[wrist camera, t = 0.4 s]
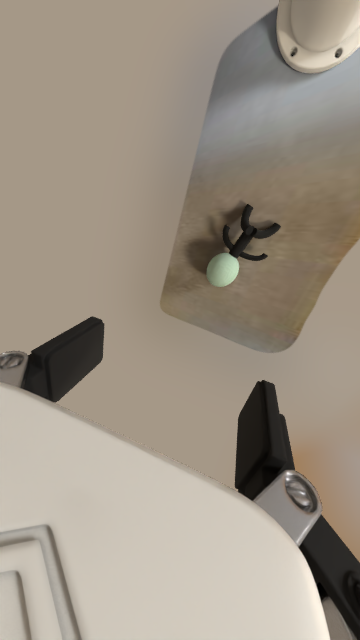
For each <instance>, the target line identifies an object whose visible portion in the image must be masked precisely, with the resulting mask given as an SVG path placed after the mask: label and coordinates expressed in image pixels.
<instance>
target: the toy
mask: <svg viewBox="0 0 360 640" xmlns="http://www.w3.org/2000/svg"><path fill="white" fill-rule="evenodd" d="M252 210H253V207H252V206H250V205H249V204H247V205H246V207H245V209H244V211H243V214H242V217H241V227H242V230H243V233H242V234H241V236H240V237H239V239H238V240H237V242H236V243H235V245H233V244H232V243H231V242H230V240H229V237H228V232H229V229H230V227H228V226H227V225H225V226H224V229H223V241H224V243H225V245H226V246H227V247H228V248H229V249H230V252H229V253H221V254H218V255H217V256H215V257H214V258H213V259H212V260H211V261H210V263H209V264H208V267H207V278H208V280H209V282H210V283H211V284H212V285H214V286H217V287H223V286H227V285H228V284H230V283H231V282H233V280H234V279H235V278H236V276H237V274H238V271H239V263H238V261H237V258H238V257H239V256H240V257H242V258H245V259H248V260H252V261H260V260H263V259H265V258H266V257H267V255H265V254H264V253H263V254H262V255H260V256H253V255H249V254H246V253H244V252H242V251H243V250H244V249H245V247H246V246H247V244H248V243H249V242H250V240H251V239H252V238H253V237H255V238H259V239H262V238H267V237H269V236H271V235H273V234H274V233H276V232H277V231H278V230H279V229H280V227H281V226H280V225H278V224H277V223H274V224H273V225H272V226H271V227H270V228H268V229H267V230H262V231H261V230H258V229H256V228H254V227H253V226H250V224H249V216H250V213H251V211H252Z"/></svg>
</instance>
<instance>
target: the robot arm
mask: <svg viewBox="0 0 360 640" xmlns="http://www.w3.org/2000/svg"><path fill="white" fill-rule="evenodd" d="M276 34H277V42H278V46H279V49H280V52H281V55H282V56H283V58H284V60H285V61H286V63H287V64H288V65H290V66H291V67H292V68H293V69H295V70H297V71H299V72H303V73H308V74H309V73H319V72H322V71H325V70H329V69H330V68H332V67H334V66H336V65H338V64H340V63H341V62H342V61H344V60H345V59H347V58H348V57H349V56H350V55H352V54H353V53H354V52H355V51H356V50H357V49H358V48H359V47H360V0H279V5H278V12H277V21H276ZM292 54H294V55H295V56H293V57H292V56H291V55H292ZM336 55H337V56H338V58H335V56H336ZM103 340H104V323H103V322H102V320H101V319H98V318H96V317H90V318H88V319H87V320H85V321H83V322H81V323H80V324H78V325H76V326H74V327H73V328H71V329H69V330H67V331H65V332H64V333H62V334H60V335H59V336H57V337H55V338H53V339H51V340H50V341H48V342H46V343H44V344H43V345H41V346H39V347H38V348H36V349H34V350H32V351H31V354H30V355H27V354H26V353H24V352H21V351H9V352H5V353H2V354H0V640H360V563H359V561H358V560H357V559H356V558H355V556H354V555H353V554H352V553H351V551H350V550H349V549H348V547H347V546H346V545H345V544H344V542H343V541H342V540H341V539H340V537H339V536H338V535H337V534H336V532H335V531H334V530H333V529H332V527H331V526H330V525H329V524H328V522H327V521H326V520H325V518H324V517H323V516H322V515H321V512H322V502H321V499H320V496H319V494H318V492H317V490H316V489H315V487H314V486H313V485H312V483H311V482H310V481H309V480H308V479H307V478H306V477H305V476H304V475H302V474H300V473H299V472H297V471H295V467H294V462H293V457H292V451H291V446H290V441H289V436H288V431H287V426H286V420H285V417H284V416H283V415H282V414H279V408H278V402H277V396H276V390H275V385H274V384H273V383H270V382H267V381H265V380H262V381H261V382H259V381H258V382H257V383H256V385H255V387H254V389H253V391H252V392H251V394H250V396H249V398H248V400H247V401H246V403H245V405H244V407H243V409H242V411H241V412H240V415H239V418H238V433H237V452H236V471H235V472H236V473H235V488H236V489H238V492H237V491H235V490H234V489H232V488H230V487H228V486H226V485H224V484H223V483H221V482H219V481H217V480H215V479H213V478H211V477H209V476H207V475H205V474H203V473H201V472H199V471H197V470H195V469H193V468H191V467H189V466H187V465H184V464H182V463H180V462H178V461H176V460H174V459H172V458H170V457H168V456H166V455H164V454H162V453H160V452H157V451H155V450H153V449H151V448H149V447H147V446H145V445H143V444H141V443H139V442H137V441H134V440H132V439H130V438H128V437H126V436H124V435H122V434H120V433H118V432H115V431H113V430H111V429H109V428H107V427H105V426H102V425H101V424H99V423H96V422H94V421H92V420H90V419H88V418H86V417H84V416H81V415H79V414H77V413H75V412H73V411H71V410H69V409H66V408H64V407H62V406H60V405H58V404H55V403H54V402H57V401H59V400H60V399H61V398H62V397H63V396H64V395H65V394H66V393H67V392H69V391H70V390H71V389H72V388H73V387H74V386H75V385H76V384H77V383H78V382H79V381H81V380H82V379H83V378H84V377H85V376H86V375H87V374H88V373H89V372H90V371H91V370H93V369H94V368H95V367H96V366H97V365H98V364H99V363H100V362H101V360H102V358H103Z"/></svg>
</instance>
